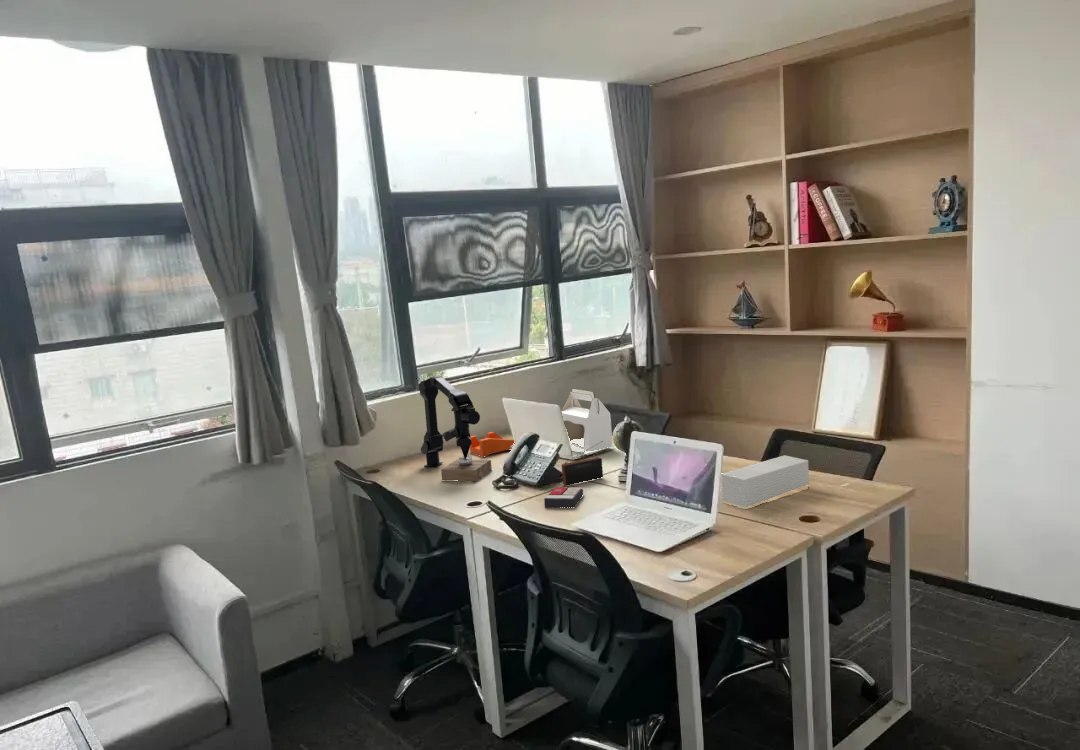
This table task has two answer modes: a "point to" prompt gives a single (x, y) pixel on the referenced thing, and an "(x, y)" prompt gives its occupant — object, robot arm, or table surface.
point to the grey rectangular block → (764, 480)
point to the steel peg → (465, 461)
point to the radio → (582, 470)
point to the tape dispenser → (489, 444)
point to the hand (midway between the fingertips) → (465, 457)
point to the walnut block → (466, 470)
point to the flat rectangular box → (563, 497)
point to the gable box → (587, 421)
